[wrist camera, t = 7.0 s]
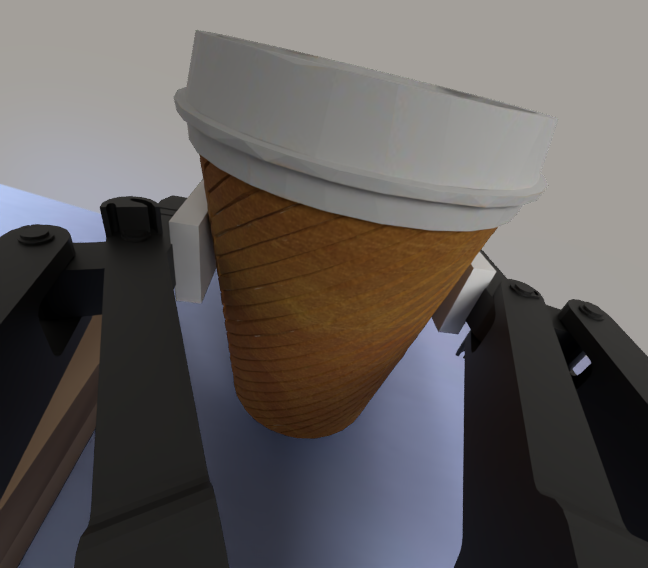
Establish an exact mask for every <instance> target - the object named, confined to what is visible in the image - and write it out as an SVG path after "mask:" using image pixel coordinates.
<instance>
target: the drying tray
mask: <svg viewBox="0 0 648 568" xmlns="http://www.w3.org/2000/svg"><path fill="white" fill-rule="evenodd" d="M101 324H102V315H94V316H92V319H91V321H90V323H89V325H88V327H87V329H86V331H85V333H84V335H83V337H82V339H81V341H80V343H79V345H78V347H77V349H76V351H75V353H74V355H73V357H72V359H71V361H70V363H69V365H68V367H67V369H66V371H65V373H64V375H63V377H62V379H61V381H60V383H59V385H58V387H57V389H56V391H55V393H54V395H53V397H52V399H51V401H50V403H49V405H48V407H47V409H46V411H45V413H44V415H43V417H42V419H41V421H40V422H39V424H38V426H37V428H36V430H35V432H34V434H33V436H32V438H31V440H30V442H29V444H28V446H27V448H26V450H25V452H24V454H23V456H22V458H21V460H20V462H19V464H18V466H17V468H16V470H15V472H14V474H13V476H12V478H11V480H10V482H9V484H8V486H7V488H6V490H5V492H4V494H3V496H2V498H1V500H0V568H17V567H18V565H19V563H20V562H21V560H22V558H23V556H24V554H25V553H26V551H27V549H28V547H29V546H30V544H31V542H32V540H33V538H34V537H35V535H36V533H37V531H38V530H39V528H40V526H41V524H42V522H43V521H44V519H45V517H46V515H47V513H48V512H49V510H50V508H51V506H52V505H53V503H54V501H55V499H56V497H57V496H58V494H59V492H60V490H61V489H62V487H63V485H64V483H65V481H66V480H67V478H68V476H69V474H70V473H71V471H72V469H73V467H74V465H75V464H76V462H77V460H78V458H79V457H80V455H81V453H82V451H83V449H84V448H85V446H86V444H87V442H88V440H89V439H90V437H91V435H92V433H93V432H94V430H95V428H96V413H97V395H98V377H99V360H100V342H101Z"/></svg>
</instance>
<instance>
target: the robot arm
mask: <svg viewBox="0 0 648 568" xmlns="http://www.w3.org/2000/svg"><path fill="white" fill-rule="evenodd" d="M100 210H101V215H102V219H103V224H104V228H105V233H106V242H92V243H73V242H72V239H71V235H70V233H69V232H68V231H67V230H66V229H64V228H61V227H59V226H52V225H39V224H35V225H31V226H30V225H27V226H23V227H21V228H18V229H15V230H11V231H9V232H8V233H6V234H4V235H3V236H1V237H0V500H1V498H2V496H3V494H4V492H5V490H6V488H7V486H8V484H9V482H10V480H11V478H12V476H13V474H14V472H15V470H16V468H17V466H18V464H19V462H20V460H21V458H22V456H23V454H24V452H25V450H26V448H27V446H28V444H29V442H30V440H31V438H32V436H33V434H34V432H35V430H36V428H37V426H38V424H39V422H40V421H41V419H42V417H43V415H44V413H45V411H46V409H47V407H48V405H49V403H50V401H51V399H52V397H53V395H54V393H55V391H56V389H57V387H58V385H59V383H60V381H61V379H62V377H63V375H64V373H65V371H66V369H67V367H68V365H69V363H70V361H71V359H72V357H73V355H74V353H75V351H76V349H77V347H78V345H79V343H80V341H81V339H82V337H83V335H84V333H85V331H86V329H87V327H88V325H89V323H90V321H91V319H92V316H94V315H102V324H101V342H100V360H99V377H98V395H97V413H96V431H95V449H94V467H93V484H92V502H91V514H90V521H89V525H88V527H87V529H86V530H85V532H84V533H83V535H82V536H81V537H80V541H79V544H78V548H77V552H76V557H75V565H74V568H229V563H228V558H227V553H226V548H225V543H224V537H223V532H222V527H221V522H220V517H219V512H218V507H217V503H216V498H215V494H214V490H213V486H212V484H211V482H210V480H209V476H208V471H207V466H206V461H205V456H204V450H203V445H202V440H201V434H200V429H199V424H198V418H197V413H196V408H195V402H194V397H193V392H192V387H191V381H190V376H189V371H188V365H187V360H186V355H185V349H184V344H183V339H182V333H181V328H180V323H179V317H178V312H177V307H176V301H182V302H191V303H199V304H201V303H202V301H203V298H204V296H205V294H206V291H207V289H208V286H209V284H210V282H211V279H212V277H213V274H214V272H215V270H216V260H215V254H214V248H213V245H214V243H213V239H212V233H211V227H210V226H211V224H210V220H209V214H208V209H207V200H206V194H205V188H204V180H203V179H202V181H201V182H200V183H199V184H198V186H197V187H196V188H195V189H194V191H193V192H192V193H191V194H190V196H189V197H188V198H184V197H179V196H170V197H168V198H165V199H163V200H161V201H160V202H159V203H156V202H155V201H153V200H151V199H147V198H142V197H133V196H128V197H117V198H113V199H109V200H107V201H105V202H103V203H102V204H101V206H100ZM174 288H175V294H176V301H175V296H174V291H173V289H174ZM432 319H433V321H434V323H435V326H436V328H437V330H438V332H444V333H452V334H459V332H460V330H461V329H462V327H463V325H464V324H465V322H467V324H468V325H469V327H470V329H471V330H470V332H469V333H468V335H467V336H466V338H465V339H464V341H463V342H462V344H461V346H460V347H459V349H458V350H457V352H456V355H457V356H459V355H460V353H461V352H463V351H465V355H464V357H463V358H464V359H465V378H464V460H463V538H462V546H461V551H460V554H459V556H458V559H457V561H456V564H455V566H454V568H648V356H647V355H645V353H644V352H643V351H642V350H641V349H640V348H639V347H638V346H637V345H636V344H635V343H634V341H633V340H632V339H631V338H630V337H629V336H628V335H627V334H626V333H625V332H624V331H623V330H622V329H621V328H620V327H619V326H618V324H617V323H616V322H615V321H614V320H613V319H612V318H611V317H610V316H609V315H608V314H606V313H605V312H604V311H602V310H601V309H600V308H599V307H598V306H596V305H593V304H592V303H589V302H584V301H581V300H575V299H572V300H569V301H568V302H567V303H566V305H565V306H564V307H563V308H562V309H561V310H560V309H557V308H554V307H551V306H548V305H545V302H544V299H543V297H542V296H541V294H540V293H539V292H538V291H536V290H535V289H533V288H532V287H530V286H529V285H527V284H525V283H522V282H520V281H516V280H512V279H507V278H506V277H505V276H504V275H503V273H502V272H501V271H500V270H499V269H498V268H497V266H495V265H494V263H493V262H492V261H491V260H490V259H489V257H488V256H487V255H486V254H485V253H484V251H482V250H480V252H479V253H478V254H477V256H476V257H475V258H474V260H473V261H472V263H471V264H470V266H469V267H468V268H467V270H466V271H465V272H464V274H463V275H462V276H461V277H460V279H459V281H458V282H457V283H456V285H455V286H454V287H453V289H452V290H451V291H450V292H449V294H448V296H447V297H446V298H445V300H444V301H443V302H442V303H441V305H440V306H439V307H438V309H437V310H436V311H435V313H434V314H433V316H432ZM585 355H587V356H588V358H589V359H590V361H591V364H590V365H589V366H588V367H587V368H586V369H585V370H584V371H583V372H582V373H581V374H579V375H576V374H575V373H574V371H573V370H572V369H573V368H574V367H575V366H576V364H577V363H578V362H579V361H580V360H581V359H582V358H583V357H584V356H585Z"/></svg>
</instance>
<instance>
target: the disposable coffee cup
mask: <svg viewBox="0 0 648 568" xmlns="http://www.w3.org/2000/svg"><path fill="white" fill-rule="evenodd" d="M174 100H175V105H176V110H177V112H178V113H179V115H180V116H181V117H182V118H183V120H184V121H186V122H187V125H188V133H189V140H190V141H191V143H192V145H193V146H194V148H195V149H196V151H197V153H199V155H200V162H201V168H202V173H203V180H204V188H205V194H206V200H207V209H208V214H209V220H210V224H211V226H210V227H211V233H212V239H213V243H214V245H213V248H214V254H215V260H216V267H217V273H218V277H219V278H218V280H219V286H220V291H221V292H222V293H221V301H222V305H224V307H223V314H224V318H225V319H226V320H225V327H226V331H227V338H228V342H229V346H228V348H229V352H230V360H231V363H232V364H231V367H232V371H233V376H234V387H235V390H236V394H237V397H238V398H239V400H240V402H241V403H242V405H243V406H244V408H245V409H246V411H247V412H248V413H249V414H250V415H251V416H252V417H253V418H254V419H255V420H256V421H257V422H259V423H260V424H262V425H263V426H265V427H266V428H268V429H270V430H272V431H275V432H278V433H280V434H283V435H285V436H290V437H294V438H310V439H315V438H320V437H325V436H330V435H332V434H335V433H337V432H339V431H342V430H343V429H345V428H346V427H348V426H349V425H350V424H352V423H353V422H354V421H355V420H356V419H357V417H358V416H359V415H360V414H361V412H362V411H363V409H364V408H365V407H366V405H367V404H368V402H369V401H370V400H371V398H372V397H373V396H374V394H375V393H376V392H377V390H378V389H379V388H380V386H381V385H382V383H383V382H384V381H385V379H386V378H387V377H388V375H389V374H390V373H391V371H392V370H393V369H394V367H395V366H396V365H397V363H398V362H399V361H400V360H401V359H402V358H403V356H404V354H405V353H406V351H407V349H408V348H409V347H410V345H411V344H412V343H413V342H414V340H415V339H416V338H417V336H418V334H419V333H420V332H421V331H422V329H423V328H424V327H425V325H426V324H427V323H428V321H429V320H430V318H431V317H432V316H433V314H434V313H435V311H436V310H437V309H438V307H439V306H440V305H441V303H442V302H443V301H444V300H445V298H446V297H447V296H448V294H449V292H450V291H451V290H452V289H453V287H454V286H455V285H456V283H457V282H458V281H459V279H460V277H461V276H462V275H463V274H464V272H465V271H466V270H467V268H468V267H469V266H470V264H471V263H472V261H473V260H474V258H475V257H476V256H477V254H478V253H479V252H480V250H481V249H482V247H483V246H484V245H485V243H486V242H487V240H488V239H489V238H490V236H491V235H492V234H493V233H494V232H495V230H496V229H497V228H498V226H501V225H503V224H506V223H509V222H510V221H511V220H512V219H513V218H514V217H515V216H516V215H517V213H518V212H519V210H520V209H521V207H522V206H523V205H525V204H528V203H531V202H534V201H537V200H538V198H539V197H540V196H541V195H542V193H543V192H544V191H545V189H546V188H547V187H548V184H547V181H546V180H545V177H544V176H543V175H542V174H541V170H542V167H543V164H544V161H545V158H546V155H547V152H548V149H549V146H550V143H551V140H552V136H553V134H554V131H555V127H556V124H557V121H558V119H557V118H556V117H553V116H550V115H546V114H543V113H540V112H537V111H533V110H529V109H526V108H522V107H519V106H515V105H511V104H507V103H504V102H500V101H496V100H492V99H489V98H485V97H481V96H477V95H473V94H469V93H464V92H461V91H457V90H453V89H449V88H445V87H441V86H437V85H433V84H429V83H425V82H421V81H417V80H413V79H409V78H404V77H400V76H397V75H393V74H389V73H385V72H381V71H377V70H372V69H368V68H364V67H360V66H356V65H352V64H347V63H343V62H339V61H335V60H330V59H326V58H322V57H318V56H313V55H310V54H305V53H301V52H297V51H293V50H288V49H284V48H280V47H275V46H270V45H266V44H262V43H258V42H253V41H248V40H244V39H240V38H235V37H231V36H226V35H221V34H216V33H211V32H205V31H198V30H196V32H195V38H194V44H193V50H192V56H191V63H190V69H189V75H188V82H187V87H185V88H182V89H179V90H177V92H176V94H175V96H174Z"/></svg>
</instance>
